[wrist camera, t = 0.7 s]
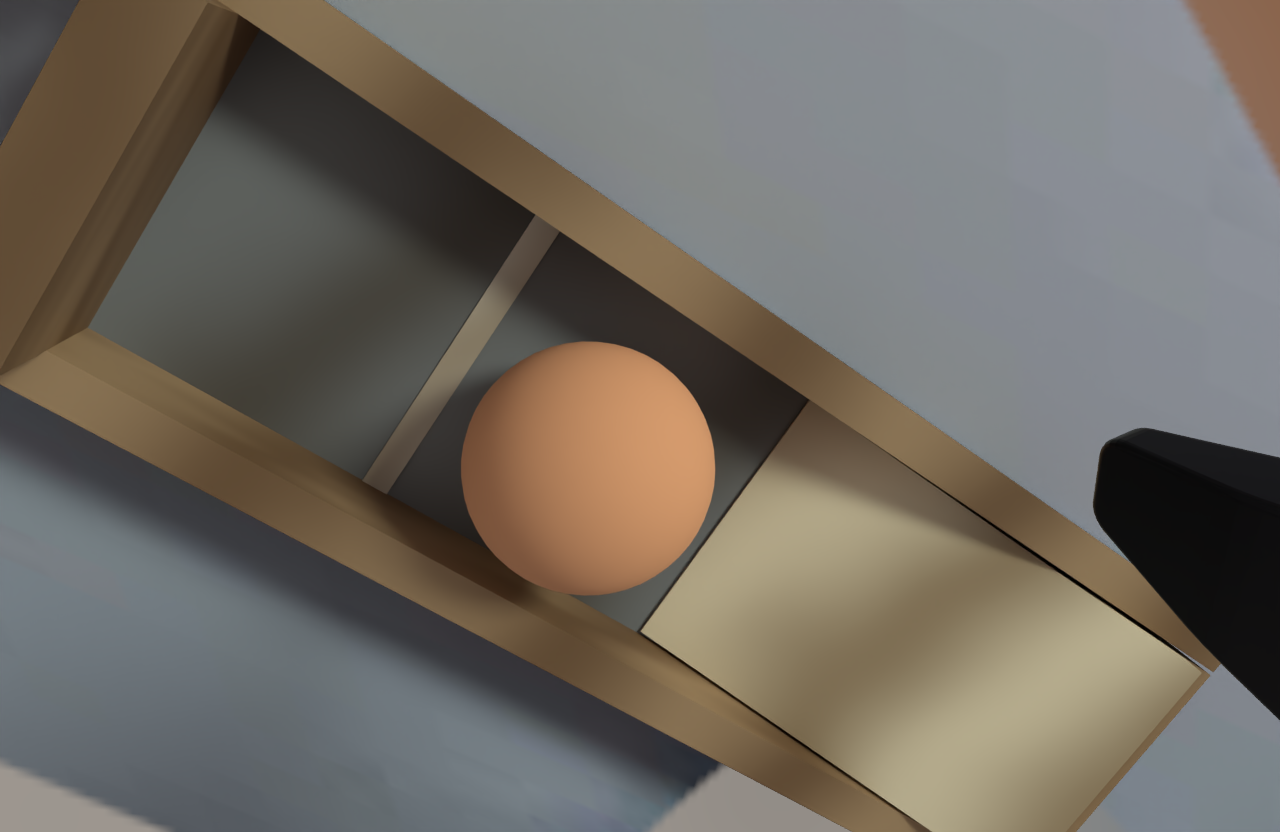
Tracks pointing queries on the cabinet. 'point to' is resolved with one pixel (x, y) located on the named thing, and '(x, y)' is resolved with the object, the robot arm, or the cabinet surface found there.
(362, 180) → the wooden tray
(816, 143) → the cabinet surface
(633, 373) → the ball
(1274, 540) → the robot arm
